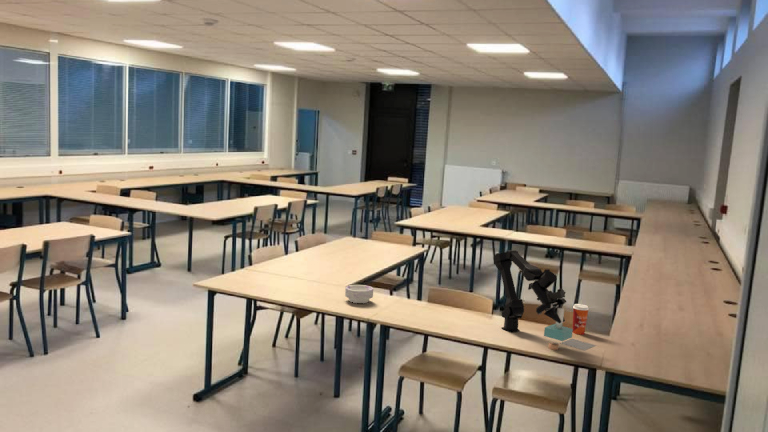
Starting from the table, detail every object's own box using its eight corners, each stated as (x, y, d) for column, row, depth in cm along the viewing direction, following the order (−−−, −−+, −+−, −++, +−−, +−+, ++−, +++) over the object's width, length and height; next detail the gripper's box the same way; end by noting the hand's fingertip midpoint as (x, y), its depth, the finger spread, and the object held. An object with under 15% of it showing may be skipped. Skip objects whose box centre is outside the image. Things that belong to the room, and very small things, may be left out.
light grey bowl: (340, 298, 339) (341, 284, 338) (365, 297, 345) (366, 283, 344) (350, 306, 325) (351, 291, 324) (377, 304, 332) (378, 290, 331)
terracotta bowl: (546, 348, 277) (546, 342, 277) (553, 347, 279) (553, 341, 279) (553, 351, 273) (553, 345, 273) (560, 350, 276) (561, 344, 275)
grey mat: (559, 343, 284) (559, 343, 284) (572, 339, 293) (572, 338, 293) (584, 351, 276) (584, 350, 276) (596, 346, 285) (596, 345, 285)
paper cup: (575, 336, 299) (578, 307, 297) (567, 331, 306) (569, 303, 304) (589, 335, 301) (592, 307, 299) (580, 330, 308) (583, 303, 307)
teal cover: (543, 335, 276) (546, 307, 275) (553, 332, 283) (556, 304, 282) (562, 341, 270) (565, 312, 269) (571, 337, 277) (574, 309, 276)
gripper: (544, 285, 270) (565, 316, 264) (564, 280, 283) (584, 309, 277) (527, 299, 276) (547, 329, 270) (547, 293, 290) (566, 322, 284)
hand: (562, 322), depth 275 cm, fingers closed on teal cover, 3 cm apart
